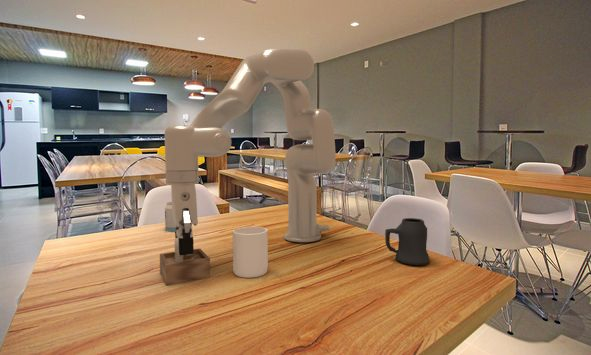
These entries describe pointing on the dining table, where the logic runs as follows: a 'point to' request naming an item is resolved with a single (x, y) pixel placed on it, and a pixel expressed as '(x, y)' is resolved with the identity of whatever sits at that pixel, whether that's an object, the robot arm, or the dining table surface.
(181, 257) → the pill bottle
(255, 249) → the mug
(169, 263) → the walnut box
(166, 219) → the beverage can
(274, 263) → the dining table surface
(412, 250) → the mug
